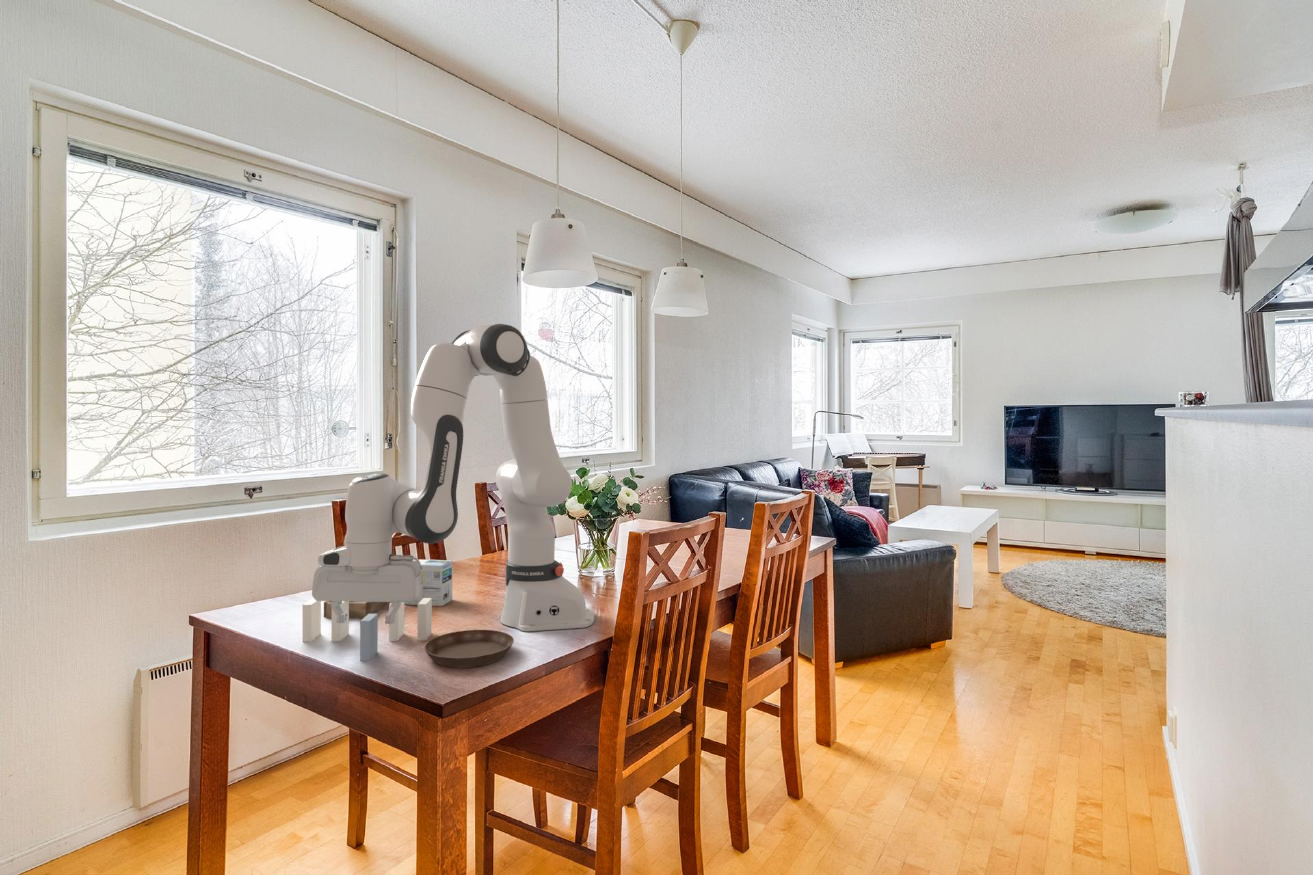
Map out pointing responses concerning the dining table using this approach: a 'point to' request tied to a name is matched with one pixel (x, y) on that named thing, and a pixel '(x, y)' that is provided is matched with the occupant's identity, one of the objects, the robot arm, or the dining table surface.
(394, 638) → the domino
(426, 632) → the domino
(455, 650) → the plant saucer
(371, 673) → the dining table surface
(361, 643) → the domino
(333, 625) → the domino
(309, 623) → the domino
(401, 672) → the dining table surface
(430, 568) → the light bulb box
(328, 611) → the brown tray
